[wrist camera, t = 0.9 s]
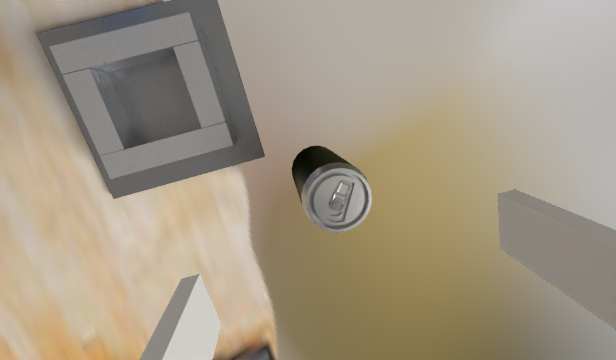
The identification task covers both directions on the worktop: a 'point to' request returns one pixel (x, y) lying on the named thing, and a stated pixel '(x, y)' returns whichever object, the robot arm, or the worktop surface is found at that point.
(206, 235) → the worktop surface
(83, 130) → the square frame
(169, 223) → the worktop surface
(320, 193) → the beer can
